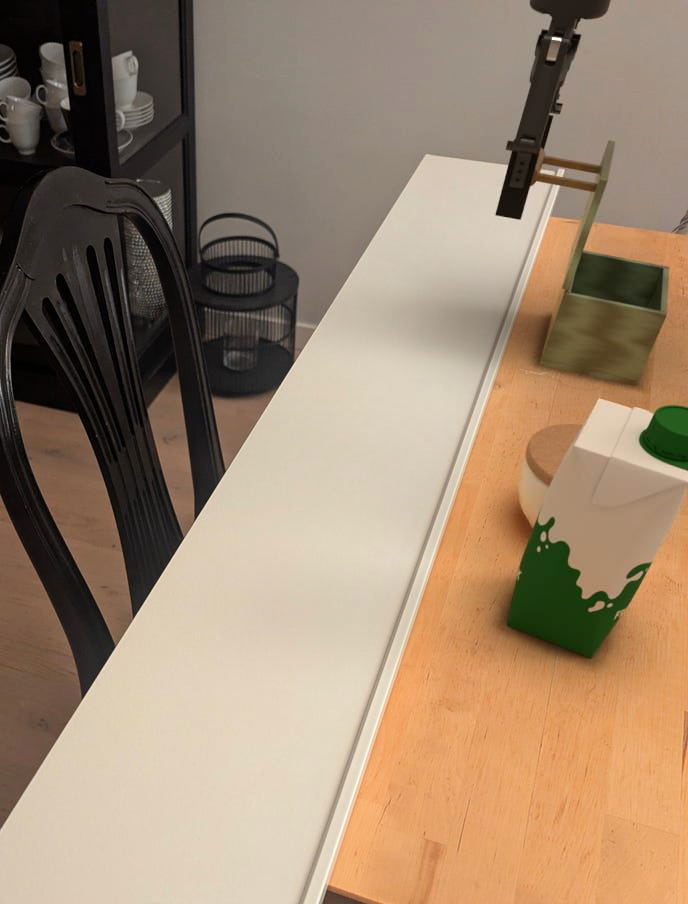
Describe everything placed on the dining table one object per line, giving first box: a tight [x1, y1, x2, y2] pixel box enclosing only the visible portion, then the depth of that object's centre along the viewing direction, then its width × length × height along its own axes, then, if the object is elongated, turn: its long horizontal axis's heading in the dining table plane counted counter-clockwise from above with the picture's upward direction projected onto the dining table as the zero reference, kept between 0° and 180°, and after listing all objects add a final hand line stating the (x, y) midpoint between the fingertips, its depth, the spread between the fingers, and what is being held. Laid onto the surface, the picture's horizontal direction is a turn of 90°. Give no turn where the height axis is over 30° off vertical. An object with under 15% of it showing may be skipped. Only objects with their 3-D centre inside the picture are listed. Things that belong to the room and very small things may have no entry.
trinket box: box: [517, 423, 583, 530], centre depth 83 cm, size 11×11×9 cm
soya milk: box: [506, 398, 688, 659], centre depth 70 cm, size 9×9×20 cm
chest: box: [539, 249, 670, 387], centre depth 107 cm, size 11×13×9 cm
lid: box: [530, 140, 616, 290], centre depth 102 cm, size 12×13×9 cm
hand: (516, 195), depth 102 cm, fingers open, 13 cm apart
